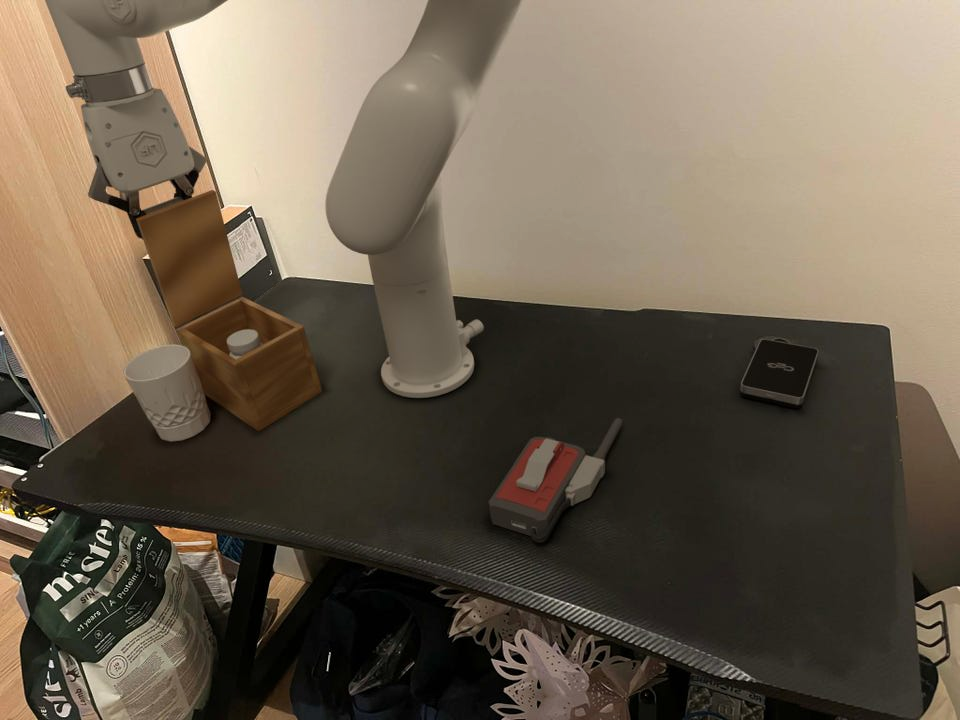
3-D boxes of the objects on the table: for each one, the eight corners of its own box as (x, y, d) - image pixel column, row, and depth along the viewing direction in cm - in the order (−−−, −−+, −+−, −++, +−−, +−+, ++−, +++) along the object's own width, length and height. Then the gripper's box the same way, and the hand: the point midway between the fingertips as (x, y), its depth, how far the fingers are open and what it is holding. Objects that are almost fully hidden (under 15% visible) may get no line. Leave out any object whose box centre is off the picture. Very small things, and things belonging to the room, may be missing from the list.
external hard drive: (817, 362, 89) (819, 348, 88) (800, 413, 81) (802, 399, 80) (759, 351, 92) (760, 338, 91) (737, 399, 84) (739, 386, 83)
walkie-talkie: (562, 558, 68) (628, 431, 82) (559, 526, 65) (629, 400, 79) (480, 531, 72) (558, 414, 86) (476, 500, 69) (556, 385, 83)
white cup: (195, 446, 88) (167, 381, 83) (140, 443, 90) (109, 379, 84) (226, 407, 95) (202, 344, 89) (174, 405, 96) (147, 343, 91)
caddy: (322, 391, 95) (303, 326, 89) (258, 431, 89) (233, 364, 84) (263, 358, 104) (242, 296, 98) (201, 392, 98) (175, 329, 93)
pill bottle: (246, 404, 93) (226, 351, 89) (239, 387, 97) (220, 335, 92) (281, 392, 95) (264, 339, 90) (273, 375, 98) (256, 323, 94)
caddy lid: (215, 191, 88) (192, 178, 91) (138, 220, 82) (116, 205, 85) (242, 294, 98) (220, 279, 101) (175, 327, 92) (154, 310, 95)
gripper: (51, 108, 74) (118, 265, 84) (200, 70, 84) (243, 215, 94) (27, 101, 79) (93, 250, 89) (170, 65, 88) (215, 204, 98)
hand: (170, 231), depth 91 cm, fingers closed on caddy lid, 5 cm apart
